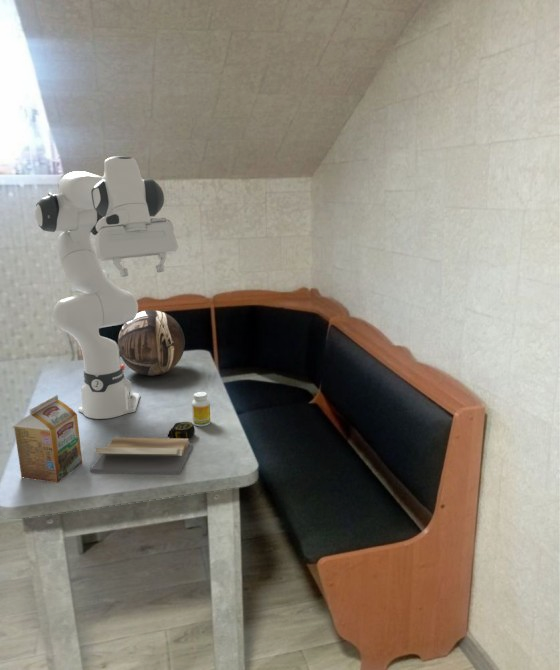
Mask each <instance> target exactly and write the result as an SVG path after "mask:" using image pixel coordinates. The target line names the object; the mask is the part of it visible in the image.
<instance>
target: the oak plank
mask: <svg viewBox="0 0 560 670" xmlns="http://www.w3.org/2000/svg"><path fill="white" fill-rule="evenodd" d="M189 443H190V442H189V439H183V438H169V437H167V438H165V437H163V438H162V437H160V438H159V437H113V439H112V440H111V441H110V442H109V444H108V445H107V447H118V448H177V449H180V450H182V455H183V454H184V452H185V450H186V448H187V446H188V444H189Z"/></svg>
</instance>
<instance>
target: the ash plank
mask: <svg viewBox="0 0 560 670" xmlns="http://www.w3.org/2000/svg"><path fill="white" fill-rule="evenodd" d="M94 454H98V455H102V454H103V455H151V456H182V450H180V449H177V448H118V447H108V446H107V447H105V446H101V447H99V446H97V447H95V449H94Z"/></svg>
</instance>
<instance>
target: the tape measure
mask: <svg viewBox="0 0 560 670" xmlns="http://www.w3.org/2000/svg"><path fill="white" fill-rule="evenodd" d="M195 430H196V429H195V425H194V424H193V422H190V421H182V422H180V421H179V422H176V423H174V425H173V426H172V427H171V429H170V430H169V431H168V433H167V438H183V439H188V440H189V439H191V438H193V437H194V435H195V433H196V431H195Z"/></svg>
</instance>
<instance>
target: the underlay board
mask: <svg viewBox="0 0 560 670" xmlns="http://www.w3.org/2000/svg"><path fill="white" fill-rule="evenodd" d="M192 449H193V442H189V444H188V446H187V448H186V450H185V452H184V454H183V455H182V456H151V455H103V454H100V456H99V458H98V459H97V461H95V463H94V464H92V467H91V468H90V473H92V474H143V475H145V474H146V475H147V474H148V475H180V473H181V472H182V470H183V468H184V465H185V463H186V461H187V459H188V457H189V455H190V453H191V451H192Z"/></svg>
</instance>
